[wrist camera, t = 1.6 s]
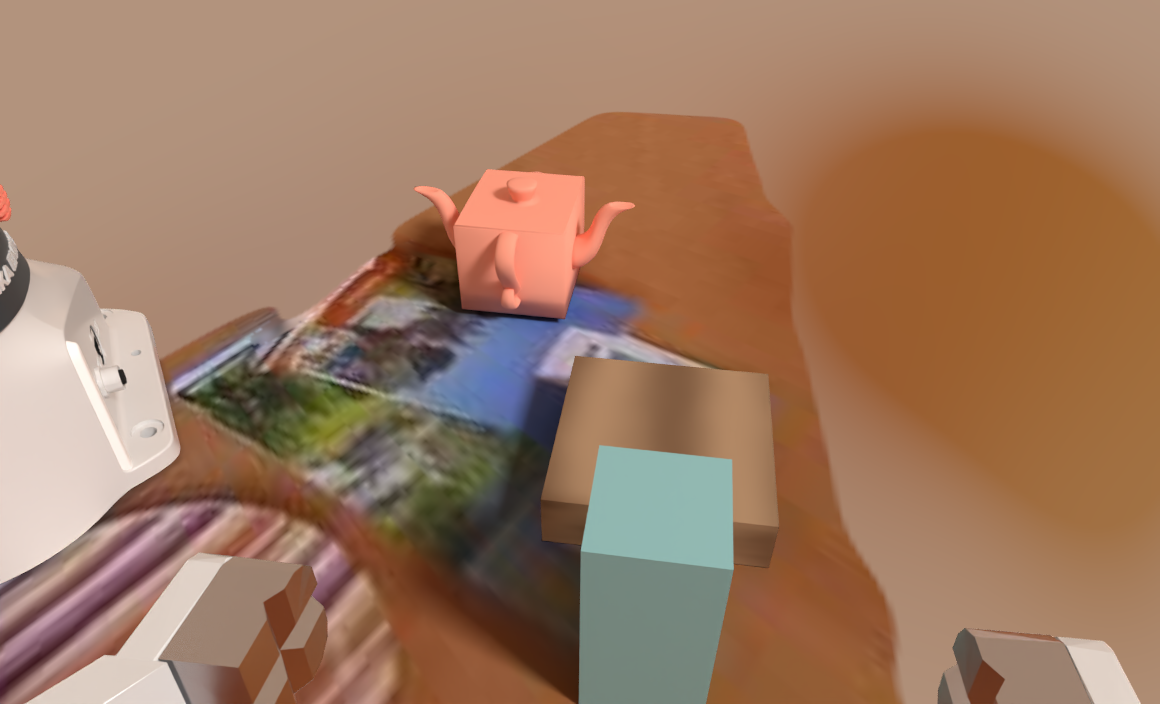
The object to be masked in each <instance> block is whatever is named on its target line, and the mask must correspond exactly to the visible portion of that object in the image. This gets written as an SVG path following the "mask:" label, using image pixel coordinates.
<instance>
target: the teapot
mask: <svg viewBox="0 0 1160 704" xmlns="http://www.w3.org/2000/svg"><path fill="white" fill-rule="evenodd" d="M414 190H415V191H416V192H418V193H420V194H422V195H423V196H425V197H427V198H428V199H429V200H430V201H431V202H433V204H434V205H435V207H436V208H437V210H438V212H439V214H440V216H441V218H442V221H443V224H444V226H445V229H446V232H447V235H448V237H449V239H450V241H451V243H452V245H453V246H454V247H455V248H456V257H457V266H458V276H459V285H460V295H461V304H462V309H467V310H477V311H487V312H498V313H508V314H518V315H528V316H538V317H548V318H559V319H565V317H566V314H567V310H568V307H569V304H570V300H571V297H572V294H573V290H574V287H575V284H576V280H577V277H578V274H579V270H580V267H582V266H583V265H585V264H587V263H588V262H590V260H591V259H592V258H593V257H594V256H595V255H596V253H597V252H598V250H599V248H600V246H601V243H602V241H603V238H604V235H605V233H606V230H607V228H608V226H609V224H610V222H611V221H612V219H613V218H614V217H615V216H617V215H618V214H619V213H621V212H623V211H625V210H628V209H631V208H633V207H634V206H635V205H634V204H633V203H629V202H611V203H608V204H606V205H604V206H603V207H601V208H600V210H599V211H598V212H597V214H596V216H595V218H594V220H593V223H592V225H591V227H590V229H589V230H588V231H587V232H585V233H584V201H585V178H584V176H569V175H557V174H545V173H541V172H532V173H531V172H517V171H503V170H490V169H487V170H486V171H485V173H484V175H483V176H482V178H481V179H480V181H479V183H478V184H477V186H476V188H475V189H474V191H473V193H472V195H471V196H470V198H469V200H468V201H467V203H466V205H465V207H464V208H463V210H462V212H461V214H459V212H458V211H457V209H456V207H455V205H454V204H453V202H452V200H451V199H450V198H449V196H448V195H447V194H445V193H444V192H443V191H442V190H440V189H437V188H434V187H428V186H418V187H415V188H414Z"/></svg>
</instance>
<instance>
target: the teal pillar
mask: <svg viewBox="0 0 1160 704" xmlns="http://www.w3.org/2000/svg"><path fill="white" fill-rule="evenodd" d="M733 570H734V567H733V484H732V459H723V458H714V457H704V456H695V455H686V454H677V453H667V452H658V451H649V450H639V449H630V448H621V447H612V446H602V445H599V451H598V456H597V462H596V468H595V473H594V479H593V485H592V490H591V496H590V502H589V507H588V513H587V519H586V524H585V530H584V536H583V541H582V547H581V570H580V648H579V704H706V700H707V695H708V690H709V686H710V681H711V676H712V671H713V666H714V662H715V657H716V652H717V647H718V642H719V637H720V633H721V628H722V623H723V618H724V613H725V609H726V604H727V599H728V594H729V589H730V585H731V580H732V575H733Z"/></svg>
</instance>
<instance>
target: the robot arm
mask: <svg viewBox="0 0 1160 704" xmlns="http://www.w3.org/2000/svg"><path fill="white" fill-rule="evenodd" d="M9 206H10V201H9V199H8V198H7V193H6V191H3V187H2V185H0V222H2V221H8V220H9V219H10V216H11V208H9ZM179 453H180V443H179V439H178V435H177V431H176V427H175V423H174V419H173V415H172V410H171V406H170V402H169V398H168V394H167V390H166V386H165V382H164V378H163V373H162V369H161V365H160V361H159V357H158V353H157V349H156V345H155V341H154V337H153V333H152V329H151V327H150V324H149V323H148V321H147V319H146V317H145V316H144V315H143V314H142V313H140V312H135V311H129V310H121V309H100V308H99V306H98V304H97V302H96V300H95V298H94V296H93V294H92V292H91V289H90V287H89V285H88V284H87V282H86V280H85V279H84V277H83V276H82V274H81V273H79V272H78V271H76V270H74V269H72V268H69V267H66V266H62V265H58V264H52V263H46V262H41V261H36V260H31V259H26V258H24V257H23V256H22V254H21V253H20V252H19V250H18V249H17V246H16V244H15V243H14V240H13V239H12V238H11V236H10V235H9V234H8V233H7V231H3V230H2V229H1V228H0V584H1V583H3V582H5V581H8V580H10V579H12V578H14V577H16V576H18V575H20V574H22V573H24V572H26V571H28V570H30V569H32V568H33V567H35V566H37V565H39V564H40V563H42V562H44V561H45V560H47V559H49V558H50V557H52V556H53V555H55V554H57V553H58V552H60V551H61V550H62V549H64V548H65V547H67V546H68V545H69V544H71V543H72V542H73V541H75V540H76V539H77V538H79V537H80V536H81V535H82V534H83V533H85V532H86V531H87V530H88V529H89V528H90V527H92V526H93V525H94V524H95V523H96V522H97V521H98V520H99V519H100V518H101V517H102V516H103V515H104V514H105V513H106V512H107V511H108V510H109V509H110V508H111V507H112V506H113V504H114V503H115V502H116V501H117V500H118V499H120V498H121V497H122V496H123V495H124V494H125V493H126V492H128V491H129V490H130V489H131V488H133V487H135V486H137V485H138V484H140V483H142V482H143V481H145V480H147V479H148V478H150V477H152V476H153V475H155V474H157V473H158V472H160V471H161V470H163V469H164V468H166V467H167V466H168V465H170V464H171V463H172V462H173V461H174V460H175V459H176V458H177V456H178V455H179ZM316 586H317V581H316V579H315V576H314V573H313V570H312V567H311V566H305V565H299V564H291V563H283V562H275V561H267V560H259V559H251V558H243V557H235V556H234V557H233V556H224V555H215V554H206V553H198V554H196V555H195V556H193V557H192V558H190V559H189V560H187V561H186V562H185V564H184V565H183V566H182V568H181V569H180V570H179V572H178V573H177V574H176V576H175V577H174V578H173V580H172V581H171V582H170V584H169V585H168V586H167V588H166V589H165V590H164V592H163V593H162V594H161V596H160V597H159V598H158V600H157V601H156V602H155V604H154V605H153V607H152V608H151V609H150V611H149V612H148V613H147V615H146V616H145V617H144V619H143V620H142V621H141V623H140V624H139V625H138V627H137V628H136V629H135V631H134V632H133V633H132V635H131V636H130V637H129V639H128V640H127V641H126V643H125V644H124V645H123V647H122V648H121V649H120V651H119V652H118V653H117V655H116V656H112V655H104V656H102V657H101V658H99V659H97V660H96V661H94V662H92V663H91V664H89V665H88V666H86V667H84V668H83V669H81V670H79V671H78V672H76V673H74V674H73V675H71V676H70V677H68V678H66V679H65V680H63V681H61V682H60V683H58V684H56V685H55V686H53V687H52V688H50V689H48V690H47V691H45V692H43V693H42V694H40V695H38V696H37V697H35V698H33V699H32V700H30V701H29V702H27V703H25V704H297V703H296V699H295V694H294V693H296V692H297V691H298V690H300V689H301V688H302V687H304V686H305V685H306V684H308V683H309V682H310V681H312V680H313V679H314V676H315V674H316V672H317V670H318V668H319V665H320V663H321V661H322V658H323V654H324V650H325V645H326V641H327V637H328V634H327V617H326V613H325V609H324V607H323V606H322V605H321V604H320V603H319V602H318V601H317V600H315V599H314V598H313V597H312V596H311V595H312V593H313V591H314V590H315V588H316ZM953 651H954V654H955V657H956V661H957V664H956V665H954V666H952V667H951V668H949V669H947V670H946V671H944V673H943V676H942V679H941V683H940V686H939V689H938V704H1141V703H1140V701H1139V700H1138V697H1137V696H1136V694H1135V692H1134V690H1133V688H1132V686H1131V684H1130V682H1129V680H1128V678H1127V676H1126V675H1125V673H1124V671H1123V669H1122V667H1121V665H1120V663H1119V661H1118V659H1117V657H1116V655H1115V653H1114V652H1113V650H1112V649H1111V648H1110V647H1109V646H1108V645H1107V644H1106V643H1105V642H1104V641H1097V640H1087V639H1076V638H1066V637H1052V636H1050V635H1041V634H1030V633H1018V632H1007V631H995V630H982V629H971V628H964V629H963V630H962V631H961V632H960V633H958V636H957V638H956V640H955V643H954V646H953Z"/></svg>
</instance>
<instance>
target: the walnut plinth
mask: <svg viewBox="0 0 1160 704" xmlns="http://www.w3.org/2000/svg"><path fill="white" fill-rule="evenodd" d="M599 445H602V446H612V447H621V448H630V449H639V450H649V451H658V452H667V453H677V454H686V455H695V456H704V457H714V458H723V459H732V484H733V564H741V565H749V566H758V567H766V568H769V565H770V561H771V557H772V553H773V549H774V545H775V541H776V537H777V533H778V529H779V520H778V506H777V492H776V477H775V463H774V449H773V435H772V421H771V407H770V392H769V378H768V374H760V373H750V372H739V371H729V370H718V369H708V368H697V367H686V366H676V365H665V364H655V363H644V362H634V361H623V360H613V359H602V358H591V357H581V356H575V359H574V363H573V367H572V371H571V376H570V380H569V384H568V388H567V392H566V396H565V400H564V405H563V409H562V413H561V417H560V421H559V425H558V429H557V434H556V438H555V442H554V446H553V450H552V454H551V459H550V463H549V467H548V471H547V475H546V479H545V483H544V488H543V492H542V496H541V524H542V540H543V541H551V542H559V543H568V544H576V545H582V541H583V536H584V530H585V524H586V519H587V513H588V507H589V502H590V496H591V490H592V485H593V479H594V473H595V468H596V462H597V456H598V451H599Z"/></svg>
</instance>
